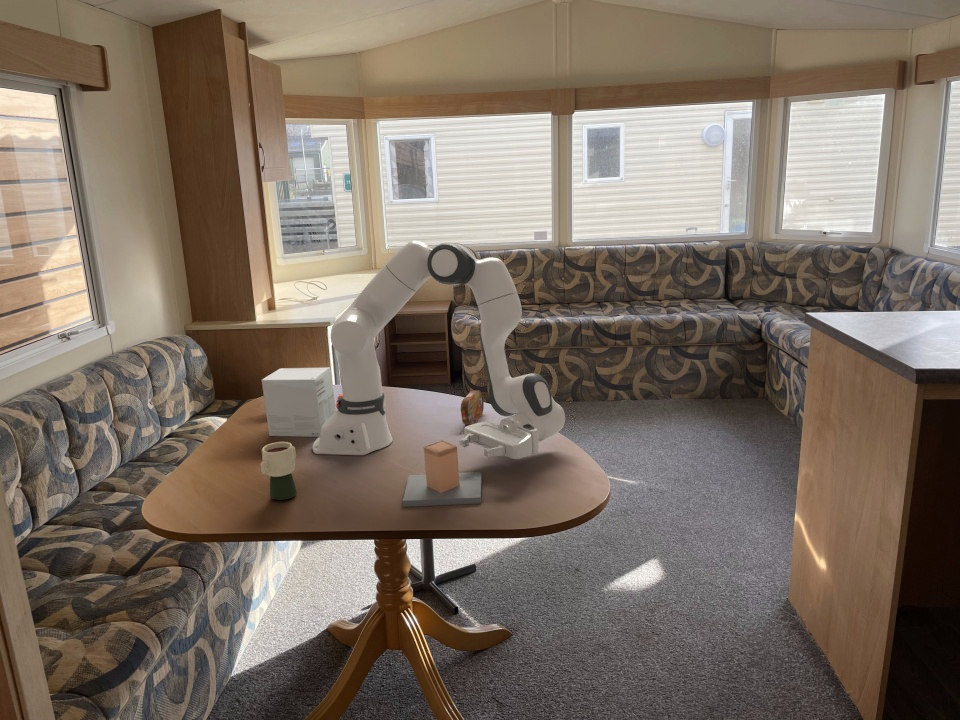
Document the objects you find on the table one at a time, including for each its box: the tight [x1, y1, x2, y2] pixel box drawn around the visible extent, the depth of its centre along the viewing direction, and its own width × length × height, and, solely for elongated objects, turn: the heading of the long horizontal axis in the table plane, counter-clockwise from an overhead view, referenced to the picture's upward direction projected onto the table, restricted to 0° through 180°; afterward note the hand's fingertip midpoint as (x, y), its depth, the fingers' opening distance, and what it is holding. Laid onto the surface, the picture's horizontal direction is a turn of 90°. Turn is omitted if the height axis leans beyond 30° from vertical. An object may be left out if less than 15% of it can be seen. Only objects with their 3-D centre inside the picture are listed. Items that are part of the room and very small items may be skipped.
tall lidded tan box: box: [423, 440, 460, 493], centre depth 167 cm, size 6×6×10 cm
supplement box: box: [261, 366, 337, 438], centre depth 214 cm, size 17×13×18 cm
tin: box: [460, 390, 484, 426], centre depth 215 cm, size 15×3×8 cm, turn 162°
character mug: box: [260, 441, 298, 501], centre depth 169 cm, size 11×7×13 cm, turn 150°
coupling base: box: [402, 471, 482, 508], centre depth 168 cm, size 18×14×9 cm
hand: (473, 448), depth 172 cm, fingers open, 8 cm apart
